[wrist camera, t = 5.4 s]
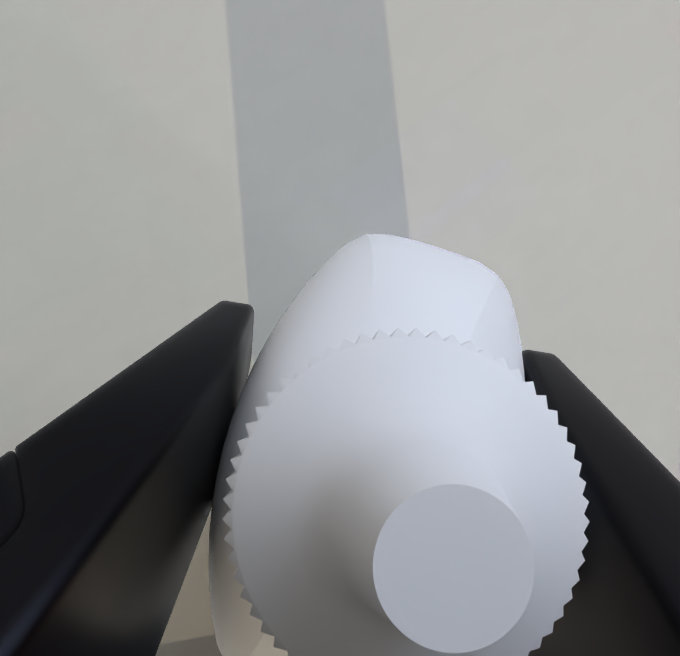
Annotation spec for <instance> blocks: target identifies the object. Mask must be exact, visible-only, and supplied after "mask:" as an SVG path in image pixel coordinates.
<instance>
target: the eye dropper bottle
mask: <svg viewBox="0 0 680 656" xmlns="http://www.w3.org/2000/svg"><path fill="white" fill-rule="evenodd" d="M574 452H575V445H574V444H572V443H570V442H568V441H567V427H564V426H561V425H558V413H557V411H555V410H549V409H548V406H547V399H546V395H536V391H535V387H534V383H533V381H531V382H525V375H524V366H523V357H522V347H521V341H520V335H519V329H518V323H517V319H516V315H515V311H514V308H513V304H512V300H511V296H510V294H509V293H508V291H507V289H506V287H505V286H504V284H503V282H502V280H501V279H500V277H499V276H498V275H497V274H496V273H494V272H493V271H491V270H490V269H489V268H487V267H486V266H485V265H483V264H482V263H480V262H477V261H475V260H472V259H470V258H467V257H465V256H462V255H460V254H457V253H454V252H451V251H448V250H445V249H442V248H439V247H436V246H432V245H429V244H425V243H422V242H419V241H415V240H412V239H407V238H403V237H399V236H394V235H390V234H364V235H362V236H360V237H358V238H356V239H354V240H352V241H350V242H348V243H346V244H345V245H344V246H342V247H341V248H340V249H339V250H338V251H337V252H336V253H335V254H334V255H333V256H331V257H330V258H329V259H328V260H327V261H326V262H325V263H324V264H323V265H322V267H321V268H320V269H319V270H318V271H317V272H316V273H315V274H314V275H313V277H312V278H311V279H310V280H309V281H308V282H307V284H306V285H305V286H304V287H303V289H302V290H301V291H300V292H299V294H298V295H297V296H296V298H295V299H294V300H293V301H292V303H291V304H290V306H289V307H288V309H287V310H286V312H285V313H284V314H283V316H282V317H281V319H280V320H279V322H278V323H277V325H276V327H275V328H274V330H273V332H272V333H271V335H270V337H269V338H268V340H267V342H266V343H265V345H264V347H263V349H262V351H261V353H260V354H259V356H258V358H257V360H256V362H255V364H254V366H253V368H252V370H251V372H250V374H249V377H248V379H247V381H246V383H245V386H244V388H243V390H242V392H241V395H240V397H239V400H238V403H237V405H236V408H235V411H234V414H233V416H232V419H231V422H230V425H229V429H228V432H227V436H226V439H225V442H224V446H223V449H222V454H221V458H220V463H219V467H218V472H217V476H216V482H215V489H214V495H213V502H212V510H211V522H210V533H209V588H210V600H211V611H212V620H213V625H214V631H215V636H216V642H217V646H218V648H219V650H220V652H221V655H222V656H528V654H529V652H530V651H532V650H535V649H538V648H540V645H541V641H542V637H544V636H546V635H548V634H551V633H553V625H554V622H555V621H556V620H558V619H559V618H561V617H563V606H564V605H565V604H566V603H567V602H569V601H570V600H571V599H572V590H571V588H572V587H573V586H574V585H575V584H576V583H577V582H578V581H579V580H580V579H579V575H578V571H577V570H578V569H579V568H580V566H581V565H582V564H583V563H584V561H585V559H584V557H583V554H582V550H583V549H584V547H585V546H586V544H587V542H588V540H587V538H586V536H585V534H584V531H585V529H586V527H587V526H588V524H589V522H590V521H589V520H588V519H587V517H586V516H585V514H584V513H585V510H586V508H587V505H588V503H589V501H588V500H587V499H586V498H585V497H584V496H583V492H584V488H585V485H586V482H585V481H584V480H583V479H582V478H580V477H579V474H580V469H581V465H582V463H580V462H579V461H577V460H575V459H574Z"/></svg>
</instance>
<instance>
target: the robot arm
mask: <svg viewBox="0 0 680 656" xmlns="http://www.w3.org/2000/svg"><path fill="white" fill-rule="evenodd" d="M253 322H254V310H253V308H252V306H251V305H248V304H242V303H236V302H230V301H221V302H219V303H218V304H216V305H215V306H213V307H212V308H211V309H209V310H208V311H206V312H205V313H204V314H202V315H201V316H199V317H198V318H196V319H195V320H194V321H192V322H191V323H189V324H188V325H187V326H185V327H184V328H182V329H181V330H180V331H178V332H177V333H175V334H174V335H173V336H171V337H170V338H168V339H167V340H166V341H164V342H163V343H161V344H160V345H158V346H157V347H156V348H154V349H153V350H151V351H150V352H149V353H147V354H146V355H144V356H143V357H142V358H140V359H139V360H137V361H136V362H135V363H133V364H132V365H130V366H129V367H127V368H126V369H125V370H123V371H122V372H120V373H119V374H118V375H116V376H115V377H113V378H112V379H111V380H109V381H108V382H106V383H105V384H104V385H102V386H101V387H99V388H98V389H97V390H95V391H94V392H92V393H91V394H89V395H88V396H87V397H85V398H84V399H82V400H81V401H80V402H78V403H77V404H75V405H74V406H73V407H71V408H70V409H68V410H67V411H66V412H64V413H63V414H61V415H60V416H58V417H57V418H56V419H54V420H53V421H51V422H50V423H49V424H47V425H46V426H44V427H43V428H42V429H40V430H39V431H37V432H36V433H35V434H33V435H32V436H30V437H29V438H28V439H26V440H25V441H23V442H22V443H20V444H19V445H18V446H17V447H16V449H15V451H16V454H15V452H13V451H9V452H7V453H6V454H5V455H3V456H2V457H0V656H155V655H156V652H157V650H158V647H159V644H160V642H161V639H162V636H163V634H164V631H165V628H166V626H167V623H168V620H169V618H170V615H171V613H172V610H173V607H174V605H175V602H176V599H177V597H178V594H179V591H180V589H181V586H182V583H183V581H184V578H185V576H186V573H187V570H188V568H189V565H190V562H191V560H192V557H193V554H194V552H195V549H196V546H197V544H198V541H199V538H200V536H201V533H202V531H203V528H204V525H205V523H206V520H207V517H208V515H209V512H210V509H211V507H212V502H213V495H214V489H215V482H216V476H217V472H218V467H219V463H220V458H221V454H222V449H223V446H224V442H225V439H226V436H227V432H228V429H229V425H230V422H231V419H232V416H233V414H234V411H235V408H236V405H237V403H238V400H239V397H240V395H241V392H242V390H243V388H244V386H245V383H246V381H247V377H248V373H249V368H250V362H251V354H252V338H253ZM522 357H523V366H524V375H525V382H531V381H533V383H534V387H535V391H536V395H546V399H547V406H548V409H549V410H555V411H557V413H558V425H561V426H564V427H567V441H568V442H570V443H572V444H574V445H575V452H574V459H575V460H577V461H579V462H580V463H582V465H581V469H580V474H579V477H580V478H582V479H583V480H584V481H585V482H586V485H585V488H584V492H583V496H584V497H585V498H586V499H587V500H588V501H589V503H588V505H587V508H586V510H585V513H584V514H585V516H586V517H587V519H588V520H589V521H590V522H589V524H588V526H587V527H586V529H585V531H584V534H585V536H586V538H587V540H588V542H587V544H586V546H585V547H584V549H583V550H582V554H583V557H584V559H585V561H584V563H583V564H582V565H581V566H580V568H579V569H578V570H577V571H578V575H579V579H580V580H579V581H578V582H577V583H576V584H575V585H574V586H573V587H572V588H571V590H572V599H571V600H570V601H569V602H567V603H566V604H565V605H564V606H563V617H561V618H559V619H558V620H556V621H555V622H554V625H553V633H551V634H548V635H546V636H544V637H542V641H541V645H540V648H538V649H535V650H532V651H530V652H529V654H528V656H680V482H679V481H678V480H677V479H676V478H675V477H674V476H673V475H672V474H671V473H670V472H669V471H668V470H667V469H666V468H665V467H664V466H663V464H662V463H661V462H660V461H659V460H658V459H657V458H656V457H655V456H654V455H653V454H652V453H651V452H650V451H649V450H648V449H647V448H646V447H645V446H644V445H643V444H642V443H641V442H640V441H639V440H638V439H637V438H636V437H635V436H634V435H633V434H632V433H631V432H630V431H629V430H628V429H627V428H626V427H625V426H624V425H623V424H622V423H621V422H620V421H619V420H618V419H617V418H616V417H615V416H614V415H613V413H612V412H611V411H610V410H609V409H608V408H607V407H606V406H605V405H604V404H603V403H602V402H601V401H600V400H599V399H598V398H597V397H596V396H595V395H594V394H593V393H592V392H591V391H590V390H589V389H588V388H587V387H586V386H585V385H584V384H583V383H582V382H581V381H580V380H579V379H578V378H577V377H576V376H575V375H574V374H573V373H572V372H571V371H570V370H569V369H568V368H567V367H566V366H565V365H564V364H563V363H562V361H561V360H560V359H559V358H557V357H556V356H555V355H553V354H550V353H544V352H538V351H532V350H524V351H522Z"/></svg>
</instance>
